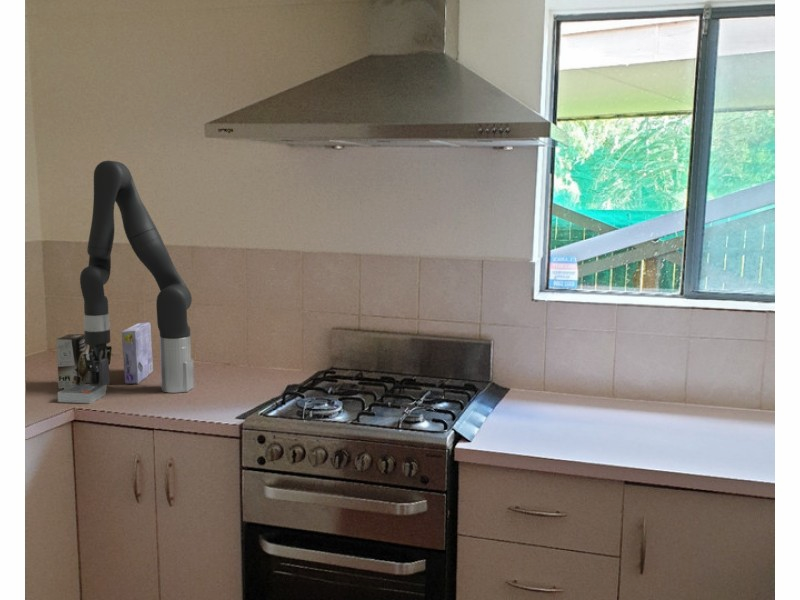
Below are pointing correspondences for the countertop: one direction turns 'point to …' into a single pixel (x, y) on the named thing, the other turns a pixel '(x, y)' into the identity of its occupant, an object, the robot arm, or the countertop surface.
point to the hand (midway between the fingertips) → (99, 381)
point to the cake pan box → (137, 352)
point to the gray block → (102, 373)
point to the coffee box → (72, 360)
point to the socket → (81, 393)
